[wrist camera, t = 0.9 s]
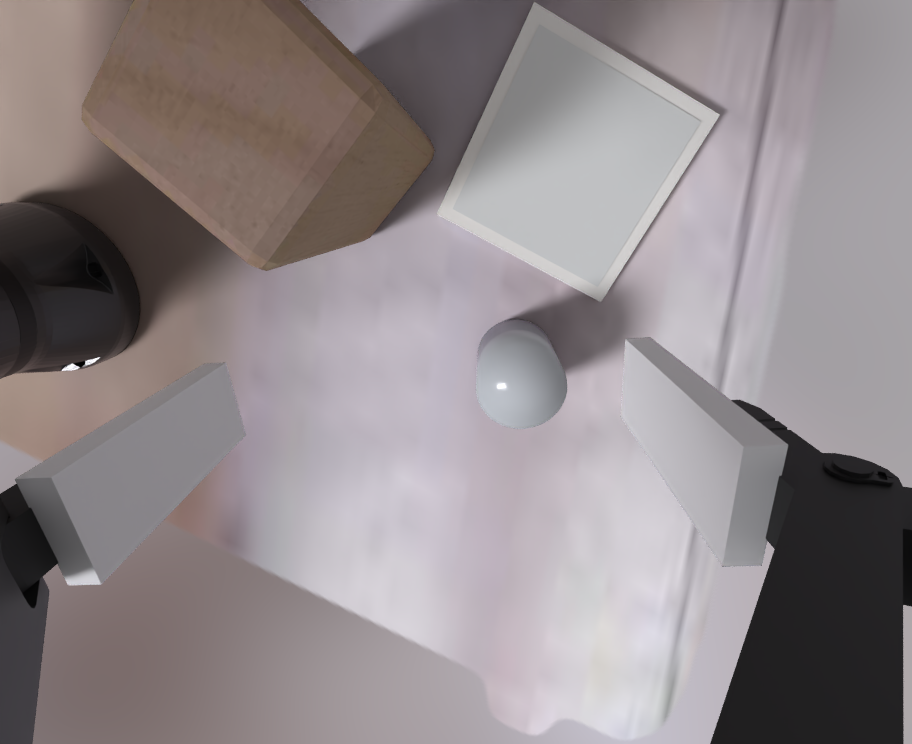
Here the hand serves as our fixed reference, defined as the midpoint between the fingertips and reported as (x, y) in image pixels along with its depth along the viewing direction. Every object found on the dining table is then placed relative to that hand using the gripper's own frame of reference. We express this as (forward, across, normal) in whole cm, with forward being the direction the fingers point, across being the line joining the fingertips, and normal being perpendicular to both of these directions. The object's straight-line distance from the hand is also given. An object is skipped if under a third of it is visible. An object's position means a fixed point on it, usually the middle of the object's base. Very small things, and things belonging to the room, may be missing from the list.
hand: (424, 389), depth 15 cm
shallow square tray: (+26, +10, +8) cm, 29 cm away
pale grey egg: (+26, +5, -8) cm, 28 cm away
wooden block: (+27, -8, +10) cm, 30 cm away
